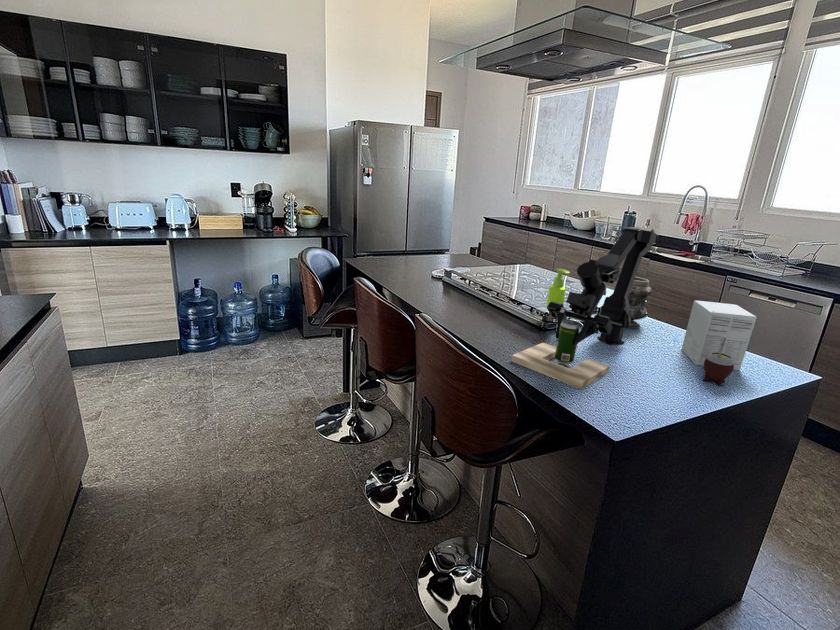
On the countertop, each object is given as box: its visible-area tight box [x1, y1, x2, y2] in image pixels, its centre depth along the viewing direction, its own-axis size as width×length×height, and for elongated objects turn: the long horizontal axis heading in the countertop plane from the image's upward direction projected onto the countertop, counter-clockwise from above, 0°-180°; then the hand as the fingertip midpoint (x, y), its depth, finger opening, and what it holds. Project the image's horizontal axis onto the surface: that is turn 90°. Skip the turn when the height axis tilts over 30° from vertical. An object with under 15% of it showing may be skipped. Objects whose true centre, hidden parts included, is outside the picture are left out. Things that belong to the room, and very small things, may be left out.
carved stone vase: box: [628, 276, 652, 329], centre depth 173 cm, size 12×12×18 cm
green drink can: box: [554, 319, 581, 365], centre depth 133 cm, size 5×5×12 cm
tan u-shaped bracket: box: [511, 342, 611, 390], centre depth 134 cm, size 17×22×2 cm
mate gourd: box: [702, 338, 734, 387], centre depth 129 cm, size 8×8×15 cm
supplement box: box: [680, 300, 758, 371], centre depth 144 cm, size 13×13×18 cm
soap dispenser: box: [546, 268, 571, 306], centre depth 171 cm, size 6×7×20 cm
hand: (565, 340), depth 132 cm, fingers closed on green drink can, 5 cm apart
